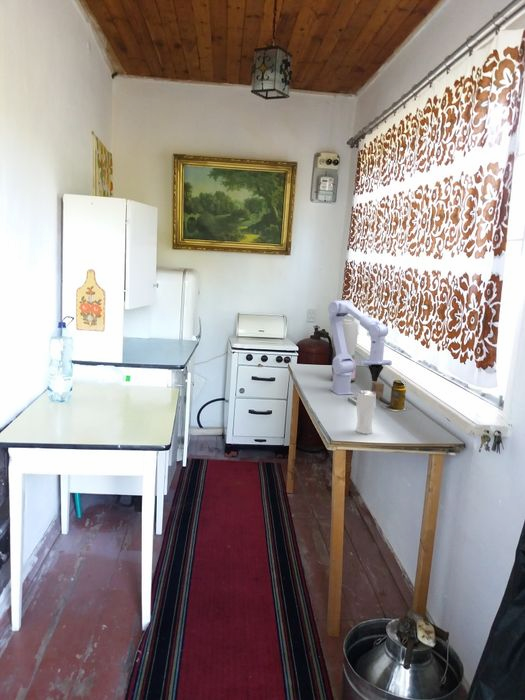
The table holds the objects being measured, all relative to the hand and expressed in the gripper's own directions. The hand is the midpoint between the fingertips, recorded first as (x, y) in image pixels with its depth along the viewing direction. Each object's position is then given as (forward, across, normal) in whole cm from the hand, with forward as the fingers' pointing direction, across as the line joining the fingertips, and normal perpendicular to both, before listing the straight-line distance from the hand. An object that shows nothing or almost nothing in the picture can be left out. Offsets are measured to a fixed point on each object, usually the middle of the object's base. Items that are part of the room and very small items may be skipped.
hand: (374, 381), depth 234 cm
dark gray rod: (+10, +6, 0) cm, 12 cm away
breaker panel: (+10, -6, 0) cm, 12 cm away
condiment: (+10, +6, -10) cm, 15 cm away
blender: (+10, +2, +40) cm, 41 cm away
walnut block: (+10, +6, +8) cm, 14 cm away
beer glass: (+10, -22, -36) cm, 43 cm away
